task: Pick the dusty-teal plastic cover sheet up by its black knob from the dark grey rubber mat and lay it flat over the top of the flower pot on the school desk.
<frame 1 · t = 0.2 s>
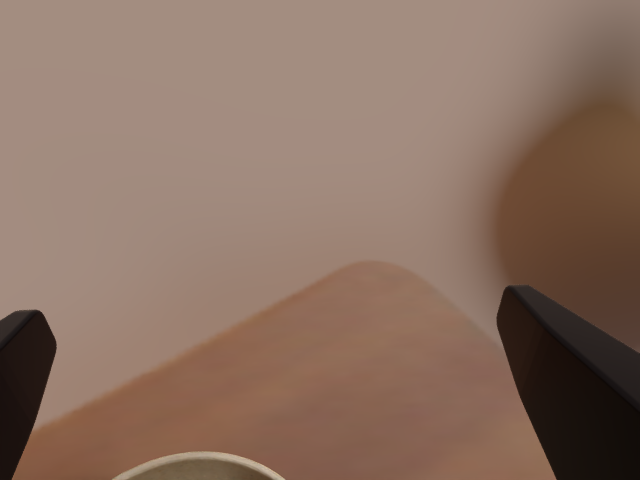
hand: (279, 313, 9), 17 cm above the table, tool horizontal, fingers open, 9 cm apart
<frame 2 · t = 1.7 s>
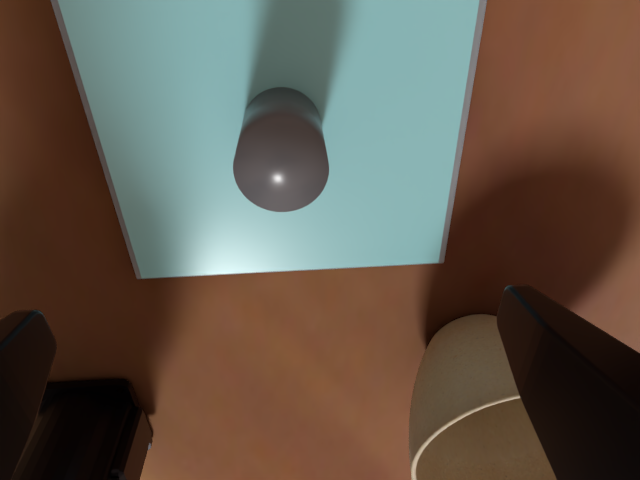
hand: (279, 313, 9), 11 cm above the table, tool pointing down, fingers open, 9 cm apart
mat: (282, 118, 18), on the table
flower pot: (467, 343, 27), on the table
cover: (282, 121, 18), resting on mat
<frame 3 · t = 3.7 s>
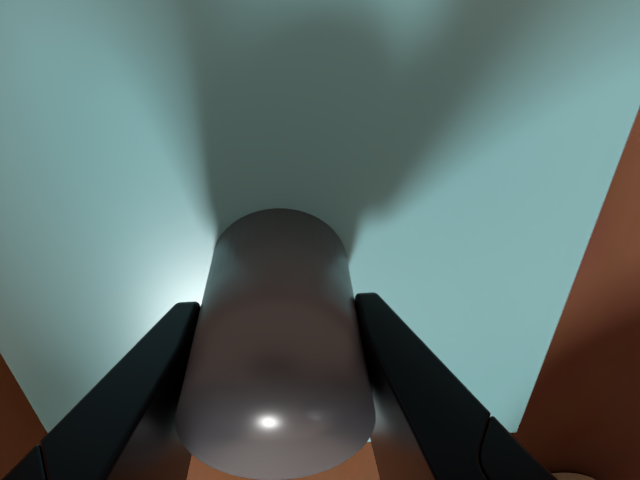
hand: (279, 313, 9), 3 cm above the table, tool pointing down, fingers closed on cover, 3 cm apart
cover: (280, 251, 11), resting on mat, touching gripper
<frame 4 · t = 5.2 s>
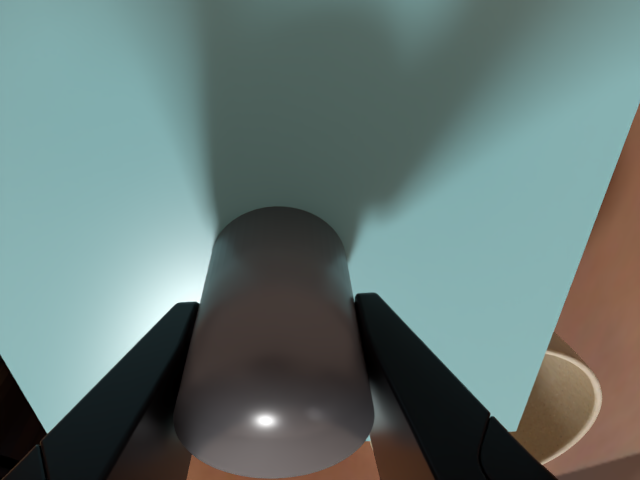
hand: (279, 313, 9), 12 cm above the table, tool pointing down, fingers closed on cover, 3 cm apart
flower pot: (438, 311, 26), on the table
cover: (279, 249, 11), point 10 cm above the table, touching gripper
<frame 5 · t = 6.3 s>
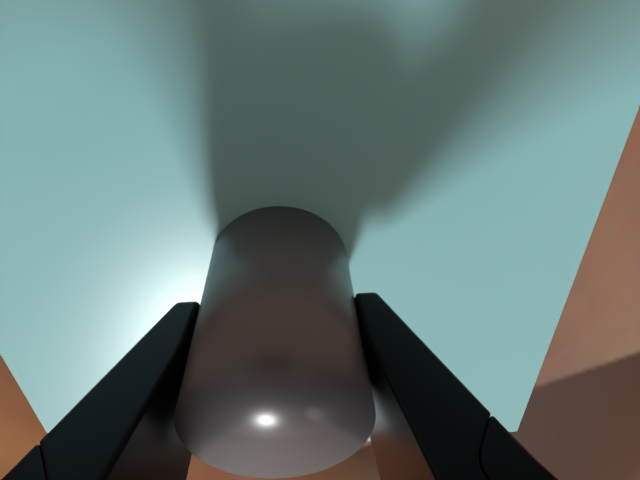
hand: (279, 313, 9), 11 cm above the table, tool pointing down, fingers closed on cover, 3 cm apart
cover: (280, 249, 11), point 9 cm above the table, touching gripper
when the fingers open (10 cm above the table, at t = 6.9 s): cover drops 1 cm, resting on flower pot.
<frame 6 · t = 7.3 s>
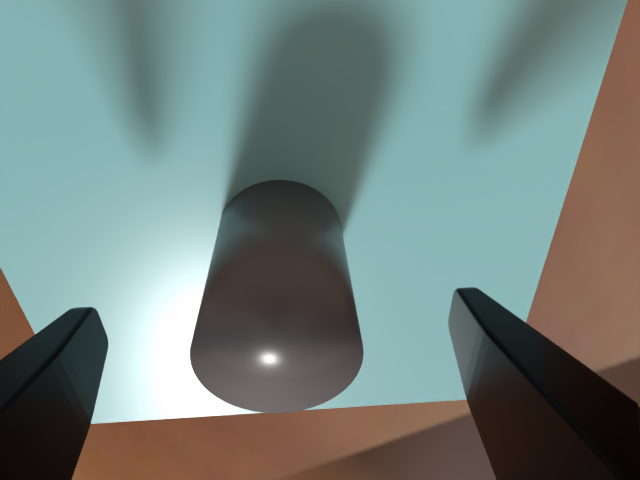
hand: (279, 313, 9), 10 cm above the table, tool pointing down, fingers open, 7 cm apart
cover: (281, 221, 12), point 7 cm above the table, touching flower pot
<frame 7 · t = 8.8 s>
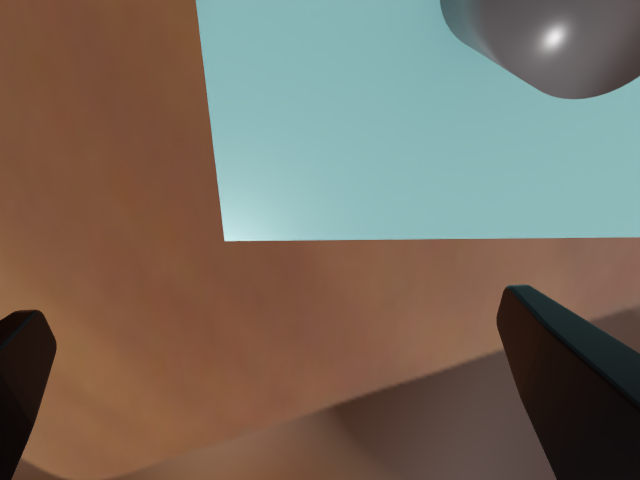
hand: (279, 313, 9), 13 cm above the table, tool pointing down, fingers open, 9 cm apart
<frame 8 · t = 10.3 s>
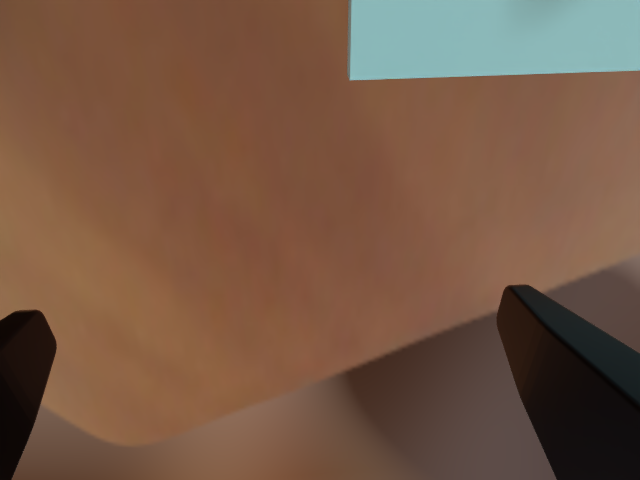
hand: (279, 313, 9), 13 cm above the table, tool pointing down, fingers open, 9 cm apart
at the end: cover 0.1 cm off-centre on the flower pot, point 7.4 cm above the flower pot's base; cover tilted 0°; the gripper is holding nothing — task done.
